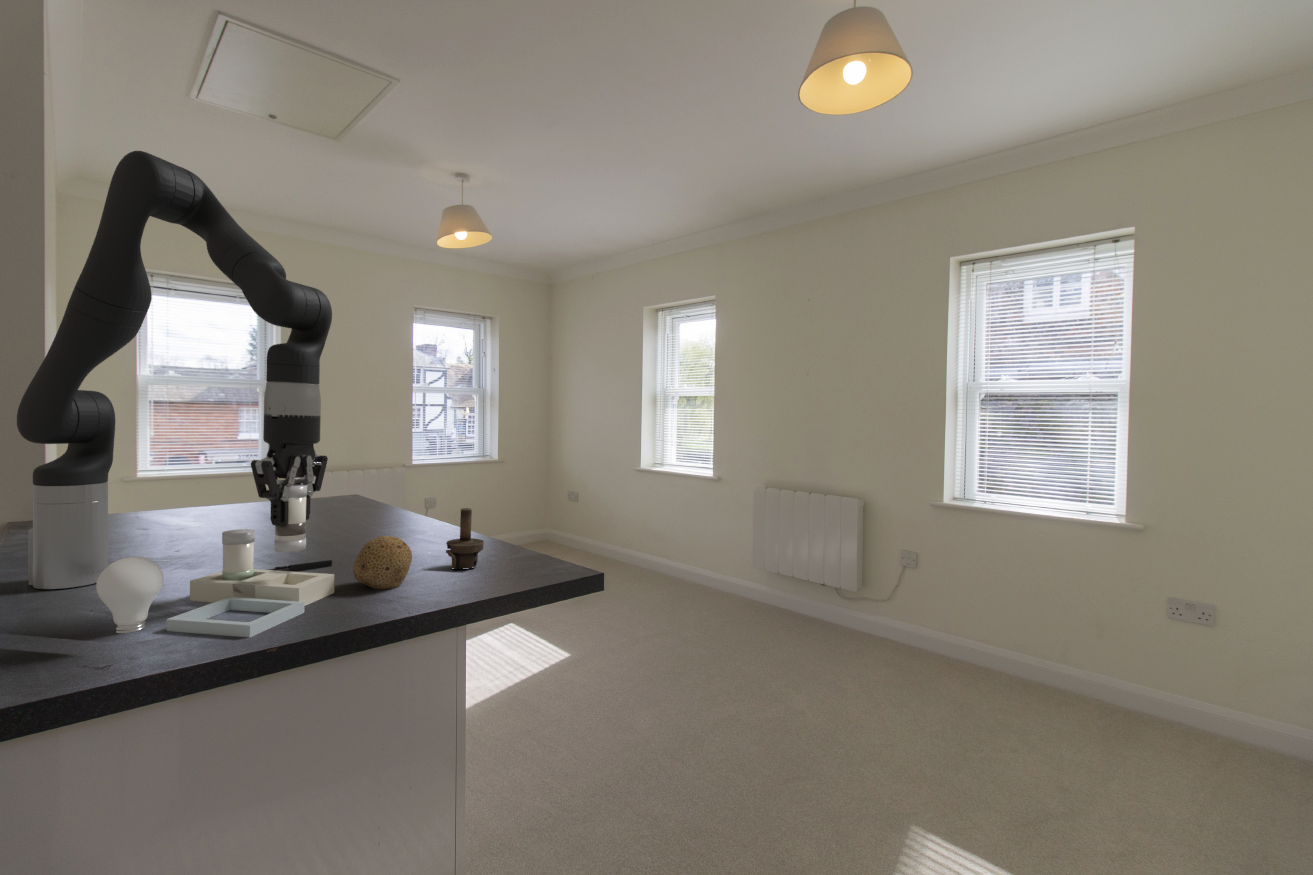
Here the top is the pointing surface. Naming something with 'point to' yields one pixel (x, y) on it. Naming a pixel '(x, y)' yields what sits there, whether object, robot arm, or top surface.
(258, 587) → the cream divided tray
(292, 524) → the cream and grey canister
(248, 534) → the fuse
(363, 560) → the natural sponge
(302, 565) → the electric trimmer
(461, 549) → the industrial component
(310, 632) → the top surface
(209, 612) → the tray
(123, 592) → the light bulb
